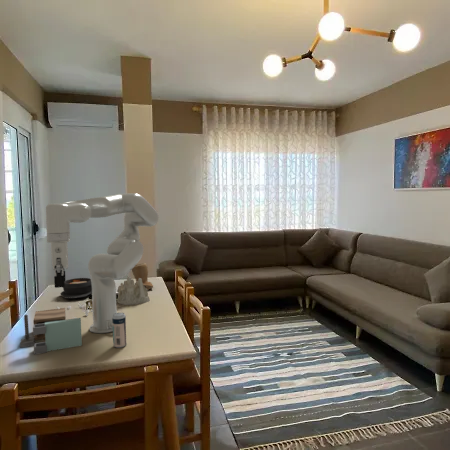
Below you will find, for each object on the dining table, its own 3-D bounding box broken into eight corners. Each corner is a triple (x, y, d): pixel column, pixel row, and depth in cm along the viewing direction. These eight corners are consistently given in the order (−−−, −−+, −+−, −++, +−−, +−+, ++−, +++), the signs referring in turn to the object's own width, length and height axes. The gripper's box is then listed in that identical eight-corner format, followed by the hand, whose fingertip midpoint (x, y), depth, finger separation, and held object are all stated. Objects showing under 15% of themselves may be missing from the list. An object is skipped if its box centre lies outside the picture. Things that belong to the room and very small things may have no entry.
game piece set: (102, 312, 173) (102, 304, 172) (61, 324, 157) (61, 315, 157) (81, 305, 185) (81, 297, 185) (41, 315, 170) (41, 307, 169)
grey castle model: (151, 301, 188) (149, 273, 187) (119, 307, 181) (117, 278, 181) (145, 296, 202) (143, 270, 202) (115, 301, 195) (113, 274, 195)
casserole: (65, 290, 213) (64, 276, 212) (98, 288, 217) (97, 275, 217) (55, 302, 189) (55, 287, 188) (93, 300, 193) (92, 284, 192)
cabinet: (25, 331, 148) (23, 304, 147) (65, 325, 154) (64, 299, 153) (20, 347, 132) (18, 317, 131) (66, 340, 139) (64, 311, 138)
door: (35, 350, 130) (33, 323, 129) (81, 342, 136) (80, 316, 136) (34, 354, 126) (32, 326, 126) (82, 346, 133) (80, 320, 132)
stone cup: (131, 285, 223) (131, 262, 222) (151, 284, 226) (150, 260, 225) (132, 292, 208) (132, 266, 207) (153, 290, 212) (152, 265, 211)
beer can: (129, 345, 133) (128, 313, 132) (117, 349, 130) (116, 317, 129) (122, 342, 136) (121, 311, 135) (110, 346, 133) (109, 314, 132)
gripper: (69, 239, 123) (71, 288, 124) (70, 235, 139) (71, 278, 140) (45, 240, 120) (47, 290, 121) (48, 235, 136) (50, 280, 137)
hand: (60, 284), depth 131 cm, fingers open, 9 cm apart
